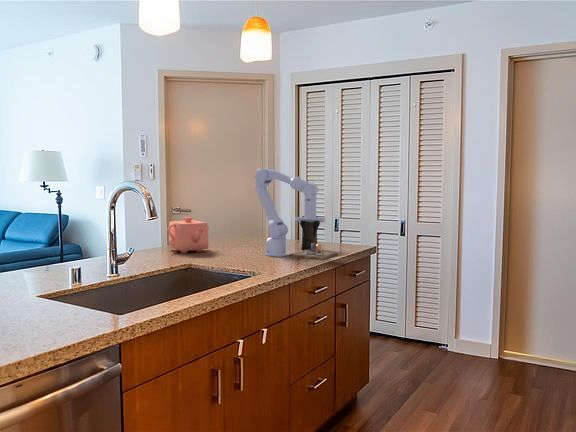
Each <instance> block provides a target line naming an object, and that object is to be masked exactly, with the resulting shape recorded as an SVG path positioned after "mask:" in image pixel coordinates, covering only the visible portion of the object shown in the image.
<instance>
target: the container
mask: <svg viewBox="0 0 576 432" xmlns="http://www.w3.org/2000/svg"><path fill="white" fill-rule="evenodd" d="M301 217H304V215H302V216H301ZM316 218H319V216H317V215H316ZM309 221H314V220H309ZM301 231H302V232H301V233H302V234H301V236H302V238H301V247H300V249H301V250H300V251H304V250H311V243H316V248H317V244H318V231H317V232H316V237H313V222H308V223H307V236H306V237H304V233H303V229H302V228H301Z"/></svg>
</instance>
